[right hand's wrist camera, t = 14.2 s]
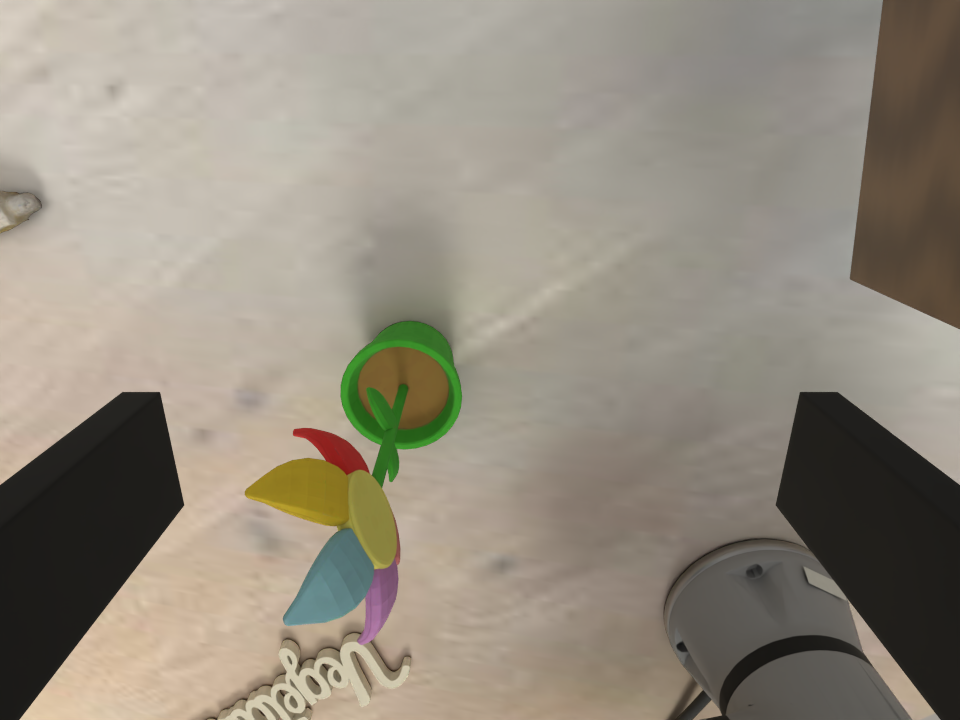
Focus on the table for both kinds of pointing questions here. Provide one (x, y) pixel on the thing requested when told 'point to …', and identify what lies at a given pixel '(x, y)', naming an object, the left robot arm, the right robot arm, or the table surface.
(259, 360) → the table surface
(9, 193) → the syringe
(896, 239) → the bar
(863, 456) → the right robot arm
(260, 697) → the decorative sign
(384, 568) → the potted flower
